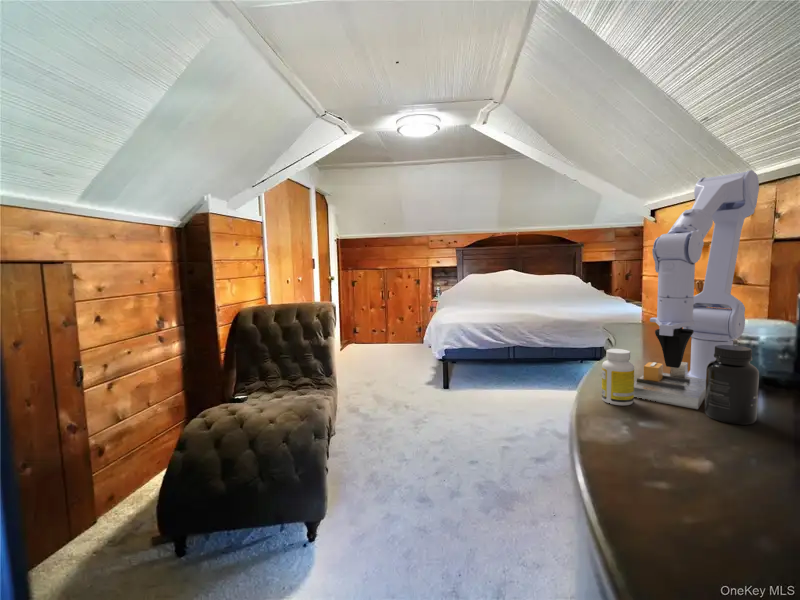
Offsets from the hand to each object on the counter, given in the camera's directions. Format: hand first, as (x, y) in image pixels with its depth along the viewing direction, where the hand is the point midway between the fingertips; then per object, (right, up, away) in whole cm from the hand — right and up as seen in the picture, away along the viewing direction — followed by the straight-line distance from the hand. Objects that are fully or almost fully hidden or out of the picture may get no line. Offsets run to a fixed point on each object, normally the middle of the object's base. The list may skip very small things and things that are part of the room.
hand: (673, 366), depth 79 cm
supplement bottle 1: (-11, -7, -1) cm, 13 cm away
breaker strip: (+1, -6, +2) cm, 6 cm away
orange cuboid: (-1, -3, +4) cm, 6 cm away
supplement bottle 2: (+3, -7, -10) cm, 13 cm away
